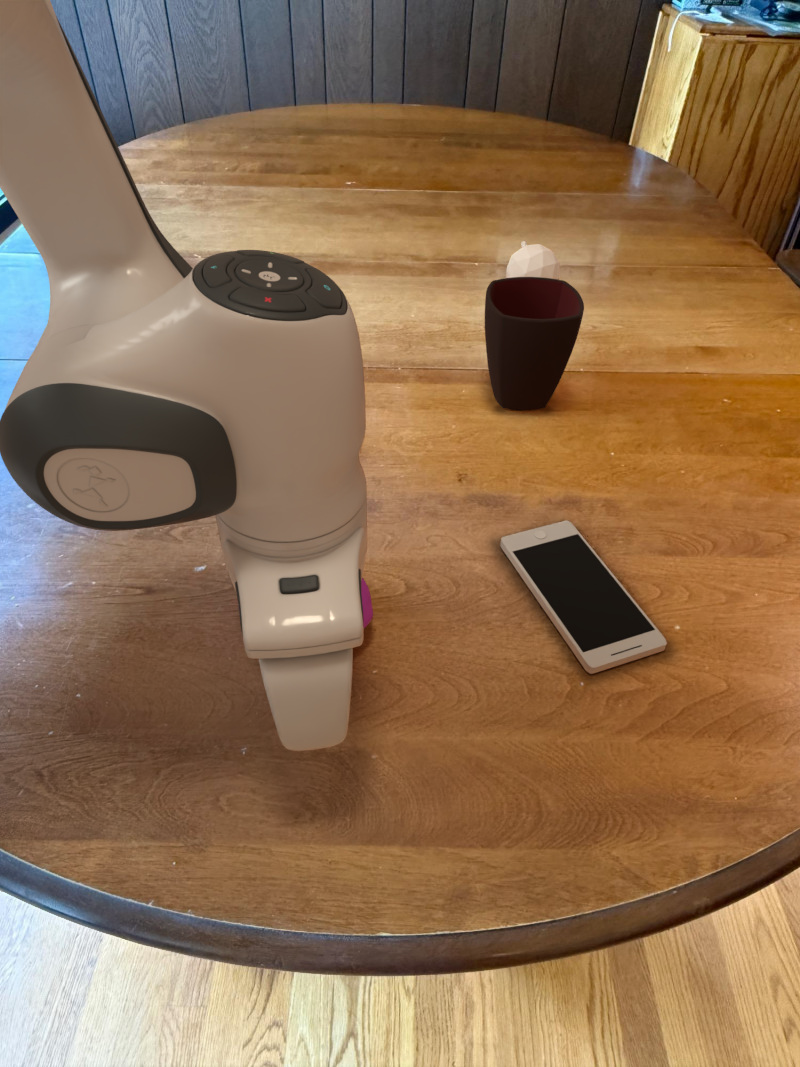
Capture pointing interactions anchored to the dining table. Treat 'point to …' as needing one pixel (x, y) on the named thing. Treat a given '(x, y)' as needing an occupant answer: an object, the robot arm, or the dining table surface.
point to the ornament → (533, 262)
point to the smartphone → (582, 597)
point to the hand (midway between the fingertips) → (308, 668)
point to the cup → (529, 338)
